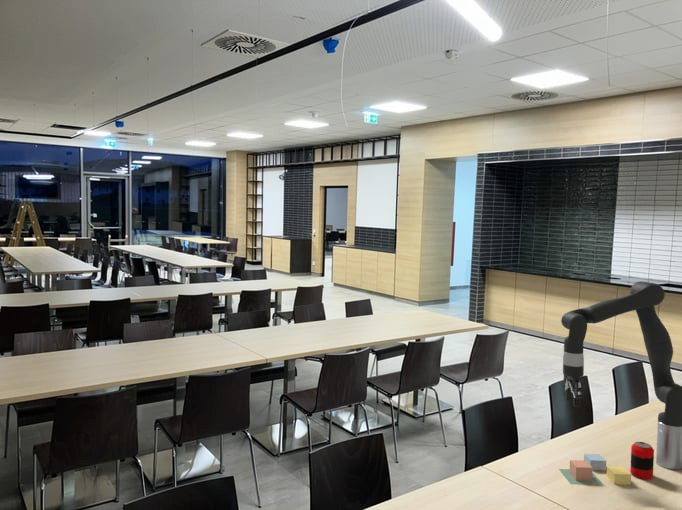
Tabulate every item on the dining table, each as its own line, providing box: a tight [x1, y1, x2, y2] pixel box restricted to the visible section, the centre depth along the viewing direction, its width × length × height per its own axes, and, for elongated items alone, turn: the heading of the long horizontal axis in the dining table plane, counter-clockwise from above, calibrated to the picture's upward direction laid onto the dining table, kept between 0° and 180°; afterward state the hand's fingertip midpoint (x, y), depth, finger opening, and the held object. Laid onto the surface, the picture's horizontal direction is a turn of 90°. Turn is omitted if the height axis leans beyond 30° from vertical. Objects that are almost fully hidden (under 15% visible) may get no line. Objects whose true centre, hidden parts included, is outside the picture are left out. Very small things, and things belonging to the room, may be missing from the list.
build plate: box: [558, 468, 605, 486], centre depth 199 cm, size 12×12×1 cm
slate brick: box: [583, 453, 607, 471], centre depth 208 cm, size 6×6×5 cm
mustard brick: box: [606, 465, 632, 486], centre depth 197 cm, size 6×6×5 cm
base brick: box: [569, 459, 594, 481], centre depth 199 cm, size 6×6×5 cm
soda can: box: [629, 441, 655, 480], centre depth 203 cm, size 8×8×12 cm
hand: (572, 403), depth 209 cm, fingers open, 8 cm apart
